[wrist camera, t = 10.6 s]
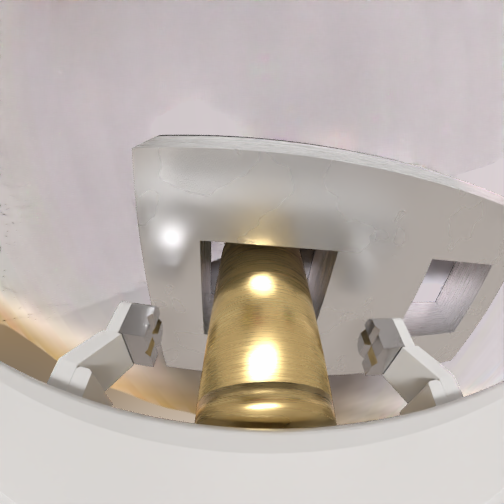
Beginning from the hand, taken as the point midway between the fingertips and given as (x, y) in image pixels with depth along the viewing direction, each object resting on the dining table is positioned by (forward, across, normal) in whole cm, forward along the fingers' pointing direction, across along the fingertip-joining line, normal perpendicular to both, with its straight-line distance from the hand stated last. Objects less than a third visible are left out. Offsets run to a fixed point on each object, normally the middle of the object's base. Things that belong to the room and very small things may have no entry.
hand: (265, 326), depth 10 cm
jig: (+5, -5, 0) cm, 7 cm away
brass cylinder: (+5, 0, 0) cm, 5 cm away
